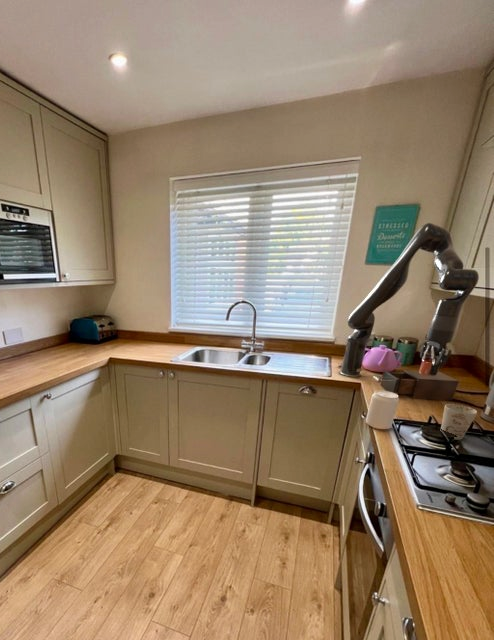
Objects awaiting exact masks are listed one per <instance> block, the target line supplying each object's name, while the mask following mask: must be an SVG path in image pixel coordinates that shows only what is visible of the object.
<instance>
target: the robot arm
mask: <svg viewBox="0 0 494 640" xmlns="http://www.w3.org/2000/svg"><path fill="white" fill-rule="evenodd" d="M419 250H421V251H424V252H427V253H431V254H433V255H435V257H434V259H433V263H434V264H433V265H434V267H435V270H436V271H437V273H438V287H439V288H440V289H442V290H443V291H453V292H455V293H454V294H453V295H452V296H449V297H443V298H441V299H439V301H438V303H437V305H436V309H435V312H434V315H433V317H432V320H431V322H430V324H429V325H430V326H429V328H428V332H427V335H426V340H427V341H423V342H422V343H421V349H420V353H419V358H421V361H422V360H433V362H432V366H431V369H430V372H429V374H430V375H436V374H437V372H439V369H440V367H441V366H443V367H444V366H446V364H447V361H448V359H449V357H450V355H451V353H452V350H451V349H447V344H450V343H451V342H452V340H453V338H454V334H455V332H456V329H457V326H458V323H459V318H460V315H461V312H462V309H463V307H464V304H465V302H466V301H467V299H468V298H469V296H470V295H471V293H472V292H473V290H475V288H476V286H477V284H478V282H479V279H480V278H479V277H480V275H479V272H478V271H477V270H475V269H471V268H467V269H466V268H464V266H465V265H464V262H463V260H462V259H461V258H460V256H459V254H458V253H457V252H456V250H455V246H454V243H453V239H452V235H451V233H450V231H449V229H447V228H445V227H443V226H440V225H437V224H435V223H432V222H427V223H425V224H423V225H422V226H421V227H420V228H419V229H418V230H417V231H416V233H415V234H414V235H413V236H412V237H411V239H410V240H409V242H408V244H407V245H406V247H405V248H404V249H403V250H402V252H401V254H400V255H399V257H398V258H397V259H396V260H395V262H394V263H393V264H392V265H391V267H390V268H389V269H388V270H387V271H386V272H385V274H384V275H383V276H382V277H381V279H380V280H379V281H378V282H377V283H376V285H375V286H374V287H373V289H372V290H371V291H370V292H369V294H368V295H367V296H366V297H365V299H364V300H363V301H362V302H361V303H360V304H359V305H358V306H357V307H356V308H355V309H353V311H352V312H351V313H350V315H349V316H348V319H347V325H348V327H349V328H350V329H351V330H353V332H352V333H351V334H349V335H348V336H347V340H346V345H345V349H344V354H343V359H342V362H341V364H340V365H338V366H337V367H338V368H340V372H339V373H340V374H341V375H342V376H346V377H350V378H351V377H352V378H357V377H360V375H361V372H362V370H363V368H362V367H363V365H362V362H363V358H364V356H365V355H366V351H365V350H366V349H367V345H368V342H369V340H370V339H371V336H372V333H373V329H374V325H375V321H376V317H375V314H374V311H376V309H378V308H379V307H380V306H382V305H383V304H384V303H386V302H388V301H389V300H391V299H392V298H393V297H394V296H395V295H396V294H397V293H398V292H399V291H400V290H401V289H402V288H403V287H404V285H405V284H406V282H407V281H408V277H409V272H410V267H411V262H412V260H413V258H414V257H415V255H416V254H417V252H419ZM436 361H437V362H436Z"/></svg>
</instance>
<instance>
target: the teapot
mask: <svg viewBox="0 0 494 640" xmlns="http://www.w3.org/2000/svg"><path fill="white" fill-rule="evenodd" d="M366 351H367V352H366ZM396 354H399V356H398V358H397V357H396ZM402 358H403V353H402V352H400V351H399V350H393V349H390V348H387V345H384V344H380V345H379V347H378V346H377V347H371V349H370V348H366V350H365V354H364V358H363V362H362V367H363V368H364V369H366V370H368V371H370V372H377V373H384V371H387V372H389V373H390V372H393V371H394V370H395V369H396V368H397V369H398V368H401V366H402V363H401V362H400V361H401V359H402Z"/></svg>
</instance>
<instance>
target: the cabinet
mask: <svg viewBox="0 0 494 640" xmlns="http://www.w3.org/2000/svg"><path fill="white" fill-rule="evenodd" d="M401 373H406V374H408V375H410V376H411V377H413V378H415V379H417V383H416V386H415V389H414V393H413V394H407V395H408V396H409V397H411V398H412V399H423V400H439V401H453V399H454V396H455V394H456V391H457V388H458V385H459V382H460V380H458V379H455V378H454V377H452V376H450V375H448V374H445V373H443V372H441V371H438V372H437V375H436V376H428V375H423V374H420V373H419V370H416V369H415V370H413V369H402V372H401Z"/></svg>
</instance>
